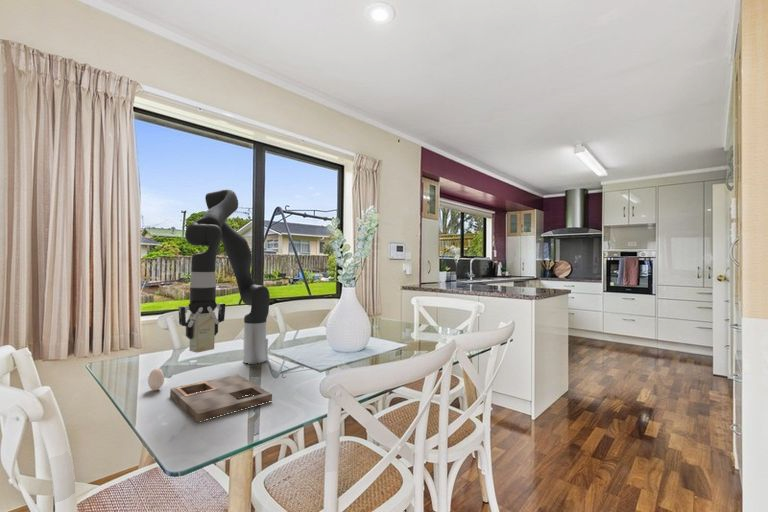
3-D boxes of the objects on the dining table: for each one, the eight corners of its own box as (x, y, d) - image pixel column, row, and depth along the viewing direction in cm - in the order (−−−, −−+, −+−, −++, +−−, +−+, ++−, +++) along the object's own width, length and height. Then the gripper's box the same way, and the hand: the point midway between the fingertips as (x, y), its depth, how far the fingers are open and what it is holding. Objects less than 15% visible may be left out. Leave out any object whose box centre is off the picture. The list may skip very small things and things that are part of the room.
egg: (145, 393, 121) (145, 370, 121) (151, 388, 126) (151, 366, 126) (160, 392, 122) (161, 370, 122) (166, 387, 127) (166, 365, 127)
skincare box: (197, 353, 115) (197, 314, 115) (188, 351, 118) (189, 313, 117) (215, 349, 121) (215, 312, 121) (206, 347, 123) (207, 310, 123)
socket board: (237, 381, 135) (237, 373, 135) (271, 402, 116) (272, 393, 116) (170, 396, 119) (170, 387, 119) (197, 423, 101) (197, 413, 101)
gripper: (220, 284, 127) (219, 332, 127) (174, 285, 116) (173, 338, 116) (230, 285, 122) (229, 335, 122) (182, 287, 111) (181, 342, 111)
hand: (202, 336), depth 119 cm, fingers closed on skincare box, 7 cm apart
